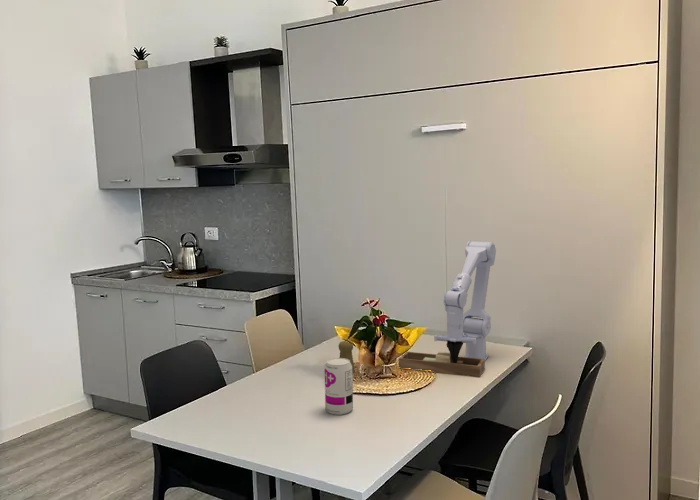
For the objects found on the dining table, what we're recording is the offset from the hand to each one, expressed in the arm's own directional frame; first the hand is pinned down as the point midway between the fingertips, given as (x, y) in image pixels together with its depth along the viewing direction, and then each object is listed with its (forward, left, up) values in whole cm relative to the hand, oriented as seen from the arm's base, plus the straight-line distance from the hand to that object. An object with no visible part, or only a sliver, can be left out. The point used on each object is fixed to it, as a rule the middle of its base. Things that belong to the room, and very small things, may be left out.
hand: (455, 362), depth 220 cm
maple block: (0, -4, 0) cm, 4 cm away
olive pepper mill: (+14, -36, -3) cm, 39 cm away
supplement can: (+48, -24, -3) cm, 54 cm away
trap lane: (0, -5, -3) cm, 6 cm away
